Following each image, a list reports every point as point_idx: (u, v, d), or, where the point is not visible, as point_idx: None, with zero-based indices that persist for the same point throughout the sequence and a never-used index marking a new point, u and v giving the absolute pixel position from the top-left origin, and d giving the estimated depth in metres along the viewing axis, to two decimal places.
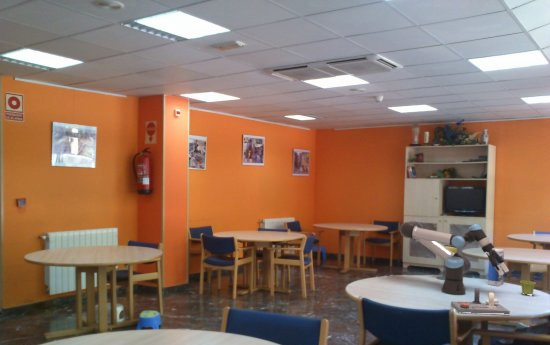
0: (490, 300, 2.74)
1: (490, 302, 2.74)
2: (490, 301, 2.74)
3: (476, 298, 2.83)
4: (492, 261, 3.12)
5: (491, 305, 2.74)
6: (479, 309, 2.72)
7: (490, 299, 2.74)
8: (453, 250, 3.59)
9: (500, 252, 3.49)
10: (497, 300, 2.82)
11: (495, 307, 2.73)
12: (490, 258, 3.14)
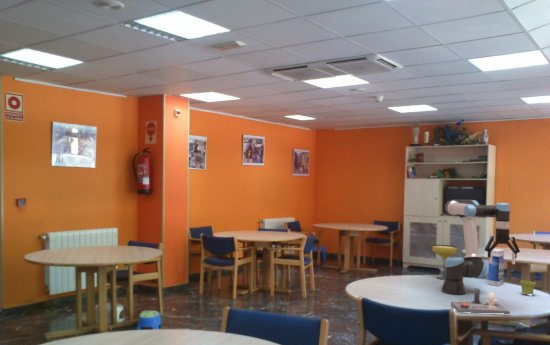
0: (490, 300, 2.74)
1: (490, 302, 2.74)
2: (490, 301, 2.74)
3: (476, 298, 2.83)
4: (486, 246, 2.87)
5: (491, 305, 2.74)
6: (479, 309, 2.72)
7: (490, 299, 2.74)
8: (453, 250, 3.59)
9: (500, 252, 3.49)
10: (497, 300, 2.82)
11: (495, 307, 2.73)
12: (488, 242, 2.87)
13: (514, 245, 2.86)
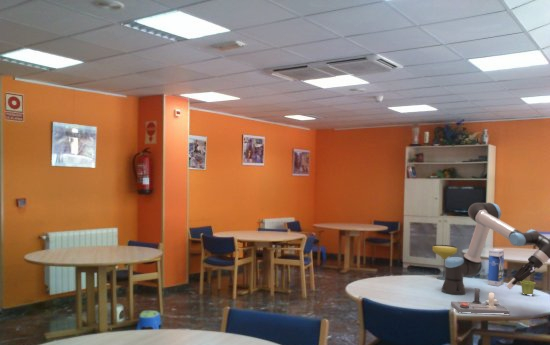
0: (490, 300, 2.74)
1: (490, 302, 2.74)
2: (490, 301, 2.74)
3: (476, 298, 2.83)
4: (523, 277, 2.70)
5: (491, 305, 2.74)
6: (479, 309, 2.72)
7: (490, 299, 2.74)
8: (453, 250, 3.59)
9: (500, 252, 3.49)
10: (497, 300, 2.82)
11: (495, 307, 2.73)
12: (526, 274, 2.69)
13: None
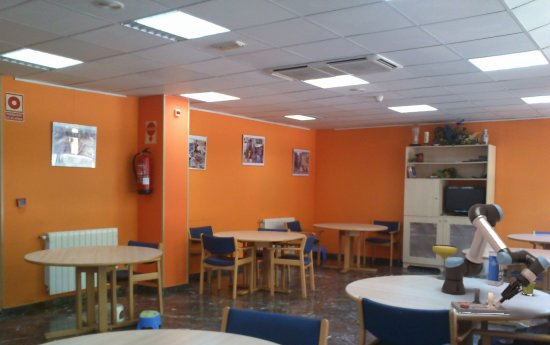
0: (489, 300, 2.74)
1: (489, 302, 2.74)
2: (489, 301, 2.74)
3: (476, 298, 2.83)
4: (510, 296, 2.70)
5: (490, 305, 2.74)
6: (479, 309, 2.72)
7: (489, 299, 2.74)
8: (453, 250, 3.59)
9: None
10: None
11: (494, 307, 2.73)
12: (514, 293, 2.69)
13: None
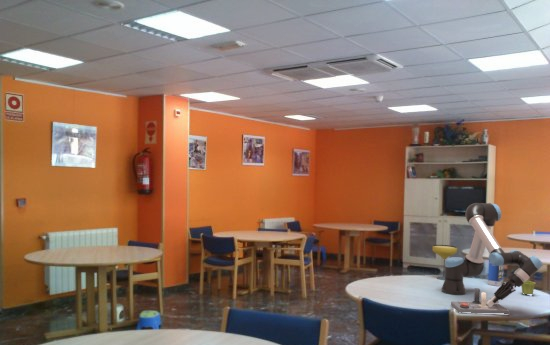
0: (482, 300, 2.74)
1: (482, 302, 2.74)
2: (482, 301, 2.74)
3: (476, 298, 2.83)
4: (503, 296, 2.70)
5: (483, 305, 2.74)
6: (479, 309, 2.72)
7: (482, 299, 2.74)
8: (453, 250, 3.59)
9: None
10: None
11: (487, 307, 2.74)
12: (507, 293, 2.69)
13: None
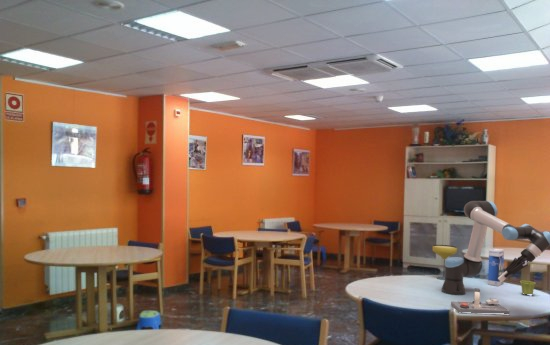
0: (476, 299, 2.75)
1: (476, 301, 2.75)
2: (476, 300, 2.75)
3: None
4: (515, 271, 2.70)
5: (477, 304, 2.74)
6: (479, 309, 2.72)
7: (476, 298, 2.75)
8: (453, 250, 3.59)
9: (500, 252, 3.49)
10: (497, 300, 2.82)
11: None
12: (518, 267, 2.70)
13: None
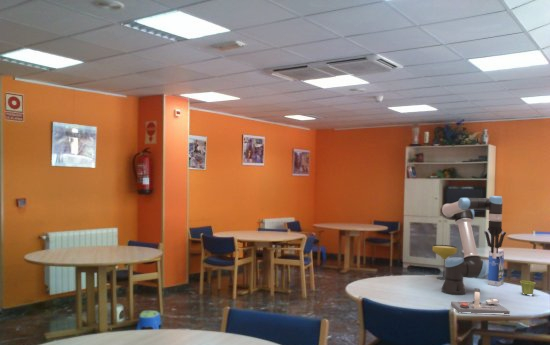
0: (476, 299, 2.75)
1: (476, 301, 2.75)
2: (476, 300, 2.75)
3: None
4: (487, 242, 2.97)
5: (477, 304, 2.74)
6: (479, 309, 2.72)
7: (476, 298, 2.75)
8: (453, 250, 3.59)
9: (500, 252, 3.49)
10: (497, 300, 2.82)
11: None
12: (486, 238, 2.97)
13: (500, 239, 2.96)
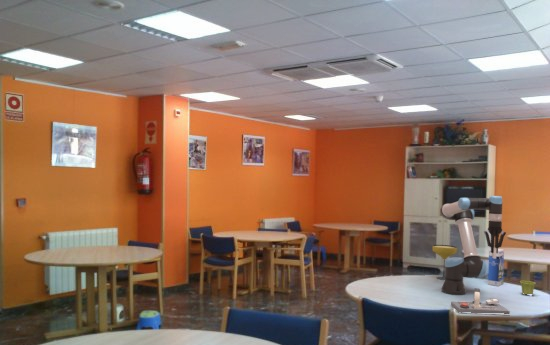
0: (476, 299, 2.75)
1: (476, 301, 2.75)
2: (476, 300, 2.75)
3: None
4: (487, 242, 2.97)
5: (477, 304, 2.74)
6: (479, 309, 2.72)
7: (476, 298, 2.75)
8: (453, 250, 3.59)
9: (500, 252, 3.49)
10: (497, 300, 2.82)
11: None
12: (486, 238, 2.97)
13: (500, 239, 2.96)
